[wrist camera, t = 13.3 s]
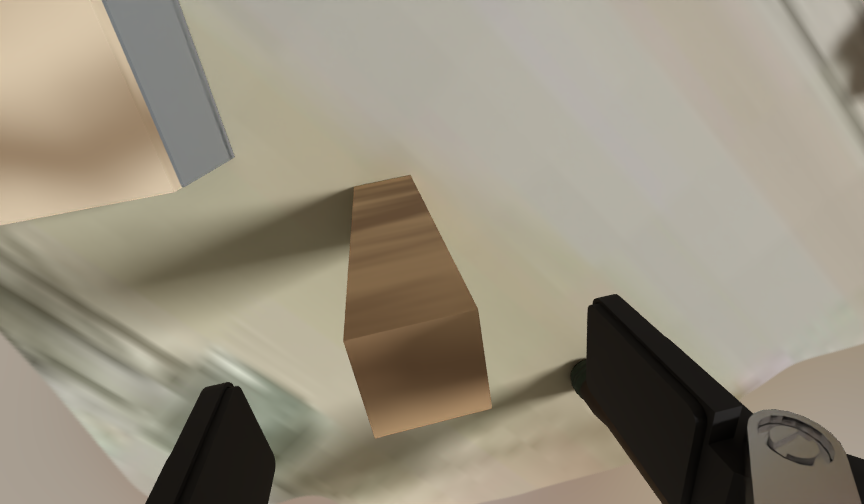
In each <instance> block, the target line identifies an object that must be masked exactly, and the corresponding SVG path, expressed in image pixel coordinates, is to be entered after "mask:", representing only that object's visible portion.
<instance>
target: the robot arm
mask: <svg viewBox="0 0 864 504" xmlns="http://www.w3.org/2000/svg"><path fill="white" fill-rule="evenodd" d="M586 382H587V385H588V388H589V390H590V392H591V394H592V395H593V396H594V398H595V399H596V401H597V402H598V404H599V405H600V406H601V408H602V409H603V411H604V412H605V413H606V415H607V416H608V418H609V419H610V421H611V422H612V423H613V425H614V426H615V428H616V429H617V431H618V432H619V433H620V435H621V436H622V438H623V439H624V440H625V442H626V443H627V445H628V446H629V448H630V449H631V450H632V452H633V453H634V455H635V456H636V458H637V459H638V460H639V462H640V463H641V465H642V466H643V468H644V469H645V470H646V472H647V473H648V475H649V476H650V477H651V479H652V480H653V482H654V483H655V485H656V486H657V487H658V489H659V490H660V492H661V493H662V495H663V496H664V497H665V499H666V500H667V502H668V503H669V504H864V459H861V458H858V457H855V456H852V455H848V454H846V452H845V450H844V448H843V447H842V445H841V443H840V442H839V441H838V440H837V439H836V438H835V437H834V436H833V434H831V432H829V431H828V430H826V429H825V428H823V427H822V426H821V425H819V424H818V423H816V422H814V421H812V420H810V419H808V418H806V417H804V416H801V415H798V414H795V413H792V412H789V411H782V410H776V409H771V410H762V411H759V412H756V413H754V414H753V413H752V412H751V411H749V410H748V409H747V408H746V407H745V406H744V405H742V403H741V402H739V401H738V400H737V399H736V398H735V397H734V396H733V395H732V394H730V393H729V392H728V391H727V390H726V389H725V388H724V387H723V386H721V385H720V384H719V383H718V382H717V381H716V380H715V379H714V378H712V377H711V376H710V375H709V374H708V373H707V372H706V371H705V370H703V369H702V368H701V367H700V366H699V365H698V364H697V363H696V362H694V361H693V360H692V359H691V358H690V357H689V356H688V355H686V354H685V353H684V352H683V351H682V350H681V349H680V348H679V347H677V346H676V345H675V344H674V343H673V342H672V341H671V340H669V339H668V338H667V337H665V336H664V335H663V334H662V333H660V332H659V331H658V330H657V329H656V328H655V327H654V326H653V325H651V324H650V323H649V322H648V321H647V320H646V319H645V318H644V317H642V316H641V315H640V314H639V313H638V312H637V311H636V310H635V309H633V308H632V307H631V306H630V305H629V304H628V303H627V302H626V301H625V300H623V299H622V298H621V297H620V296H619V295H617V294H613V295H608V296H604V297H600V298H596V299H594V301H593V305H590V306H589V307H588V316H587V359H586ZM274 472H275V458H274V454H273V452H272V450H271V448H270V446H269V444H268V442H267V440H266V438H265V436H264V434H263V432H262V430H261V428H260V426H259V424H258V422H257V420H256V418H255V416H254V414H253V412H252V410H251V408H250V406H249V403H248V401H247V399H246V397H245V395H244V393H243V391H242V389H241V388H240V387H239V386H235V387H234V386H233V384H232V383H230V382H226V383H222V384H217V385H213V386H209V387H205V388H204V389H203V390H202V392H201V393H200V396H199V398H198V400H197V402H196V404H195V406H194V408H193V410H192V412H191V414H190V416H189V418H188V420H187V422H186V424H185V426H184V428H183V430H182V432H181V434H180V436H179V438H178V440H177V443H176V445H175V447H174V449H173V451H172V453H171V454H170V456H169V458H168V459H167V461H166V463H165V465H164V467H163V469H162V471H161V473H160V475H159V477H158V479H157V481H156V483H155V485H154V487H153V489H152V491H151V493H150V495H149V497H148V499H147V501H146V503H145V504H268V501H269V496H270V491H271V487H272V482H273V477H274Z"/></svg>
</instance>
